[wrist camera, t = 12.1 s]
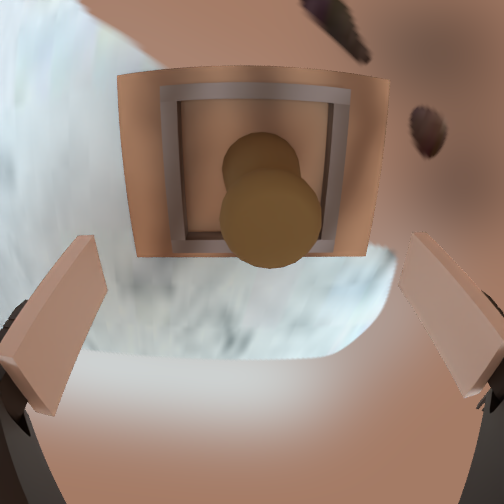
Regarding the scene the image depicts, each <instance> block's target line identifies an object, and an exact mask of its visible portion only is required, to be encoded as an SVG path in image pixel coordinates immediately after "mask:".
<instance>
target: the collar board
mask: <svg viewBox="0 0 504 504" xmlns="http://www.w3.org/2000/svg"><path fill="white" fill-rule="evenodd" d="M117 88H118V108H119V123H120V136H121V147H122V157H123V166H124V175H125V183H126V190H127V198H128V205H129V212H130V218H131V224H132V230H133V236H134V242H135V247H136V253H137V257H237V256H236V255H235V254H234V253H233V252H232V251H231V250H230V249H229V247H228V245H227V244H226V242H225V240H224V238H223V236H222V234H221V228H220V222H219V216H220V211H221V205H222V200H223V198H224V197H225V195H226V193H227V191H226V188H225V184H224V180H223V173H222V165H223V160H224V156H225V154H226V152H227V151H228V149H229V147H230V146H231V145H232V144H233V143H234V142H235V141H237V140H238V139H239V138H241V137H243V136H245V135H248V134H250V133H257V132H266V133H271V134H276V135H277V136H279V137H281V138H283V139H284V140H286V141H287V142H288V143H289V144H290V145H291V147H292V148H293V149H294V150H295V153H296V155H297V158H298V160H299V166H300V172H301V178H303V179H304V180H305V181H306V182H307V183H308V185H309V186H310V187H311V188H312V189H313V191H314V192H315V194H316V195H317V198H318V201H319V203H320V206H321V220H322V224H321V230H320V233H319V236H318V239H317V242H316V243H315V244H314V246H313V247H312V248H311V250H310V251H309V252H308V253H307V254H306V255H305V256H303V257H335V256H366V252H367V247H368V242H369V237H370V232H371V226H372V222H373V216H374V211H375V205H376V199H377V193H378V187H379V180H380V173H381V165H382V159H383V151H384V143H385V134H386V124H387V115H388V103H389V90H390V80H387V79H382V78H377V77H371V76H364V75H358V74H352V73H345V72H337V71H328V70H318V69H308V68H295V67H277V66H204V67H187V68H174V69H163V70H154V71H146V72H138V73H131V74H124V75H118V76H117Z"/></svg>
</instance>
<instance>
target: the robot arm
mask: <svg viewBox="0 0 504 504" xmlns="http://www.w3.org/2000/svg"><path fill="white" fill-rule="evenodd" d="M398 287H399V288H400V290H401V291H402V293H403V294H404V296H405V298H406V299H407V301H408V302H409V304H410V305H411V307H412V308H413V310H414V312H415V313H416V315H417V316H418V318H419V320H420V321H421V323H422V325H423V326H424V328H425V330H426V331H427V333H428V334H429V336H430V338H431V340H432V341H433V343H434V345H435V346H436V348H437V350H438V352H439V353H440V355H441V357H442V359H443V360H444V362H445V364H446V366H447V367H448V369H449V371H450V373H451V375H452V377H453V378H454V380H455V382H456V384H457V386H458V388H459V390H460V392H461V394H462V396H463V398H467V397H470V396H472V395H476V394H478V393H480V391H481V390H482V389H483V387H484V386H485V384H486V383H487V382H488V383H489V385H490V387H491V388H490V390H489V391H488V392H487V394H486V395H485V396H484V397H483V399H482V400H481V401H480V402H479V404H478V405H477V407H476V409H479V408H480V406H482V404H483V403H485V407H484V408H483V409H482V411H484V413H483V418H482V423H481V427H480V432H479V437H478V441H477V445H476V449H475V453H474V457H473V460H472V464H471V467H470V471H469V474H468V477H467V480H466V483H465V486H464V489H463V492H462V495H461V498H460V501H459V503H458V504H504V314H503V312H502V310H501V309H500V308H498V306H497V304H496V303H495V302H494V301H493V300H492V298H491V297H490V296H488V295H487V294H486V293H484V292H483V291H482V290H480V289H479V288H478V286H477V285H476V284H475V283H474V282H473V281H472V280H471V279H470V278H469V276H468V275H467V274H466V273H465V272H464V271H463V270H462V269H461V268H460V267H459V265H457V263H456V262H455V261H454V260H453V259H452V258H451V257H450V256H449V255H448V254H447V253H446V252H445V251H444V250H443V249H442V248H441V247H440V246H439V245H438V243H437V242H436V241H434V239H432V238H431V237H430V236H429V235H428V234H427V233H426V232H412V235H411V239H410V243H409V247H408V251H407V254H406V258H405V262H404V265H403V268H402V272H401V275H400V279H399V282H398ZM107 291H108V289H107V286H106V282H105V279H104V275H103V271H102V267H101V263H100V259H99V255H98V251H97V247H96V243H95V239H94V235H80V236H77V237H76V239H75V240H74V241H73V242H72V243H71V245H70V246H69V247H68V248H67V249H66V251H65V252H64V253H63V254H62V256H61V257H60V258H59V259H58V261H57V262H56V263H55V265H54V266H53V267H52V268H51V270H50V271H49V272H48V274H47V275H46V276H45V278H44V279H43V280H42V282H41V283H40V284H39V286H38V287H37V289H36V290H35V291H34V293H33V294H32V296H31V297H30V298H29V300H25V301H23V302H22V303H21V304H20V305H19V306H17V307H16V308H15V310H14V311H13V312H12V314H11V315H10V317H9V318H8V319H9V320H7V321H6V323H5V324H4V326H3V329H1V330H0V504H66V502H65V500H64V498H63V496H62V494H61V492H60V490H59V488H58V486H57V484H56V482H55V480H54V478H53V476H52V474H51V471H50V470H49V467H48V465H47V462H46V460H45V458H44V455H43V453H42V450H41V448H40V446H39V443H38V440H37V438H36V435H35V432H34V429H33V427H32V424H31V421H30V418H29V415H28V414H27V412H26V410H25V407H26V404H27V402H28V403H29V404H30V405H31V406H32V408H33V409H34V410H35V411H36V412H38V413H42V414H45V415H50V416H55V413H56V411H57V408H58V405H59V402H60V400H61V397H62V394H63V392H64V389H65V386H66V384H67V381H68V379H69V376H70V374H71V371H72V369H73V366H74V364H75V361H76V359H77V357H78V354H79V352H80V350H81V347H82V345H83V343H84V340H85V338H86V336H87V334H88V331H89V329H90V327H91V325H92V323H93V320H94V318H95V316H96V314H97V312H98V310H99V308H100V306H101V304H102V302H103V299H104V297H105V295H106V293H107Z"/></svg>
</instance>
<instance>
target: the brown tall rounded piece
mask: <svg viewBox="0 0 504 504" xmlns="http://www.w3.org/2000/svg"><path fill="white" fill-rule="evenodd" d="M222 173H223V180H224V184H225V188H226V191H227V193H226V195H225V197H224V198H223V200H222V205H221V211H220V216H219V222H220V228H221V234H222V236H223V238H224V240H225V242H226V244H227V245H228V247H229V249H230V250H231V251H232V252H233V253H234V254H235V255H236V256H237V257H238V258H239V259H240V260H242V261H244V262H247V263H249V264H251V265H253V266H256V267H262V268H268V269H271V268H281V267H285V266H287V265H290V264H293V263H295V262H297V261H298V260H299V259H301V258H302V257H303V256H305V255H306V254H307V253H308V252H309V251H310V250H311V248H312V247H313V246H314V244H315V243H316V242H317V239H318V236H319V233H320V230H321V224H322V220H321V206H320V203H319V201H318V198H317V195H316V194H315V192H314V191H313V189H312V188H311V187H310V186H309V185H308V183H307V182H306V181H305V180H304V179H303V178H301V172H300V166H299V160H298V158H297V155H296V153H295V150H294V149H293V148H292V147H291V145H290V144H289V143H288V142H287V141H286V140H284V139H283V138H281V137H279V136H277V135H276V134H271V133H266V132H257V133H250V134H248V135H245V136H243V137H241V138H239V139H238V140H237V141H235V142H234V143H233V144H232V145H231V146H230V147H229V149H228V151H227V152H226V154H225V156H224V160H223V165H222Z"/></svg>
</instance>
